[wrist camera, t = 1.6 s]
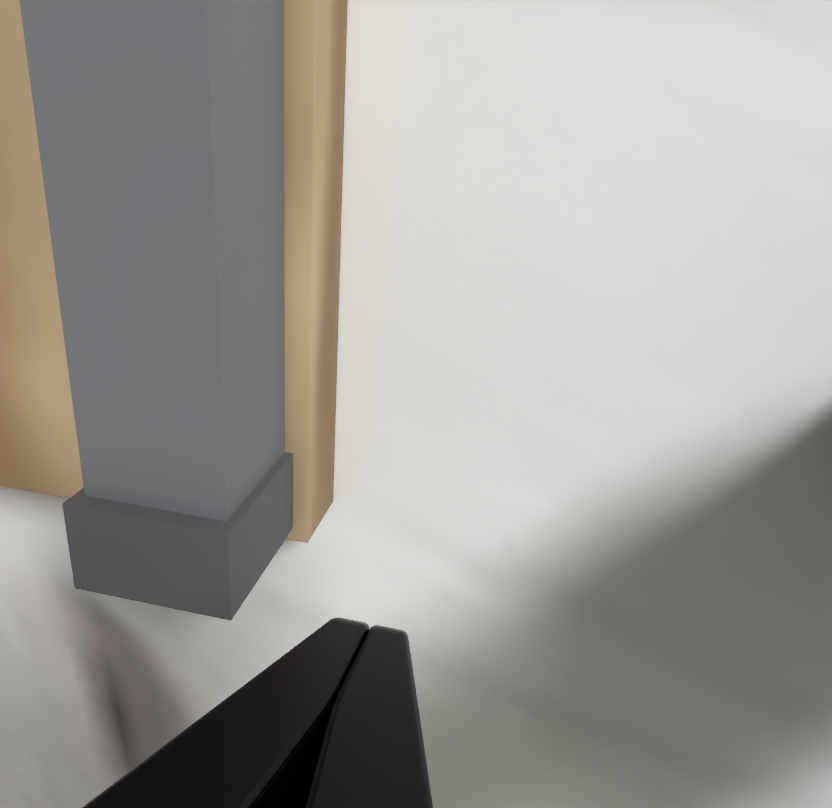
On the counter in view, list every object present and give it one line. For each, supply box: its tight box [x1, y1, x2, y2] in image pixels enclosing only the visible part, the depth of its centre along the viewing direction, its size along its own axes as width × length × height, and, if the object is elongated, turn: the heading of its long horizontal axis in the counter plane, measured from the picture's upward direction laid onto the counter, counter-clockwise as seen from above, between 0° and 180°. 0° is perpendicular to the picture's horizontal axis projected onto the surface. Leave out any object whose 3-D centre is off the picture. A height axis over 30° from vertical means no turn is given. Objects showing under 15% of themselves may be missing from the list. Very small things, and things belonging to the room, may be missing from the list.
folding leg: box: [19, 0, 293, 620], centre depth 13 cm, size 15×3×4 cm, turn 176°
